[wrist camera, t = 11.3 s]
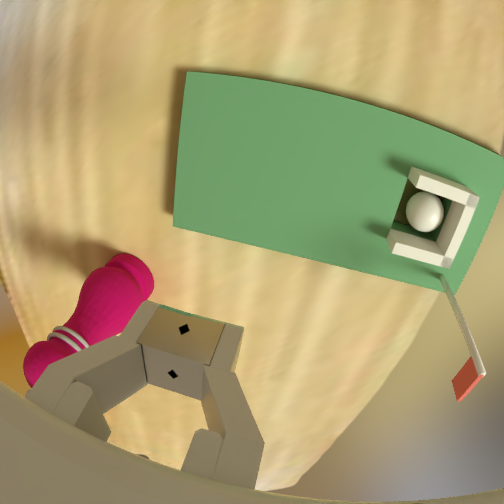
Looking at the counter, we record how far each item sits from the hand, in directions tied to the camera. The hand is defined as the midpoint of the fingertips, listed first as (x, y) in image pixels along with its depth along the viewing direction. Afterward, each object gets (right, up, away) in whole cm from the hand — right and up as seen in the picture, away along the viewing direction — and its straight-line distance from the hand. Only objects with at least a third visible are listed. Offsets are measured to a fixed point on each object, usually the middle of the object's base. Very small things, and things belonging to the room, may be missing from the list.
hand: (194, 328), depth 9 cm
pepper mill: (-12, -1, +27) cm, 30 cm away
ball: (+16, +6, +15) cm, 23 cm away
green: (+9, +8, +17) cm, 21 cm away
